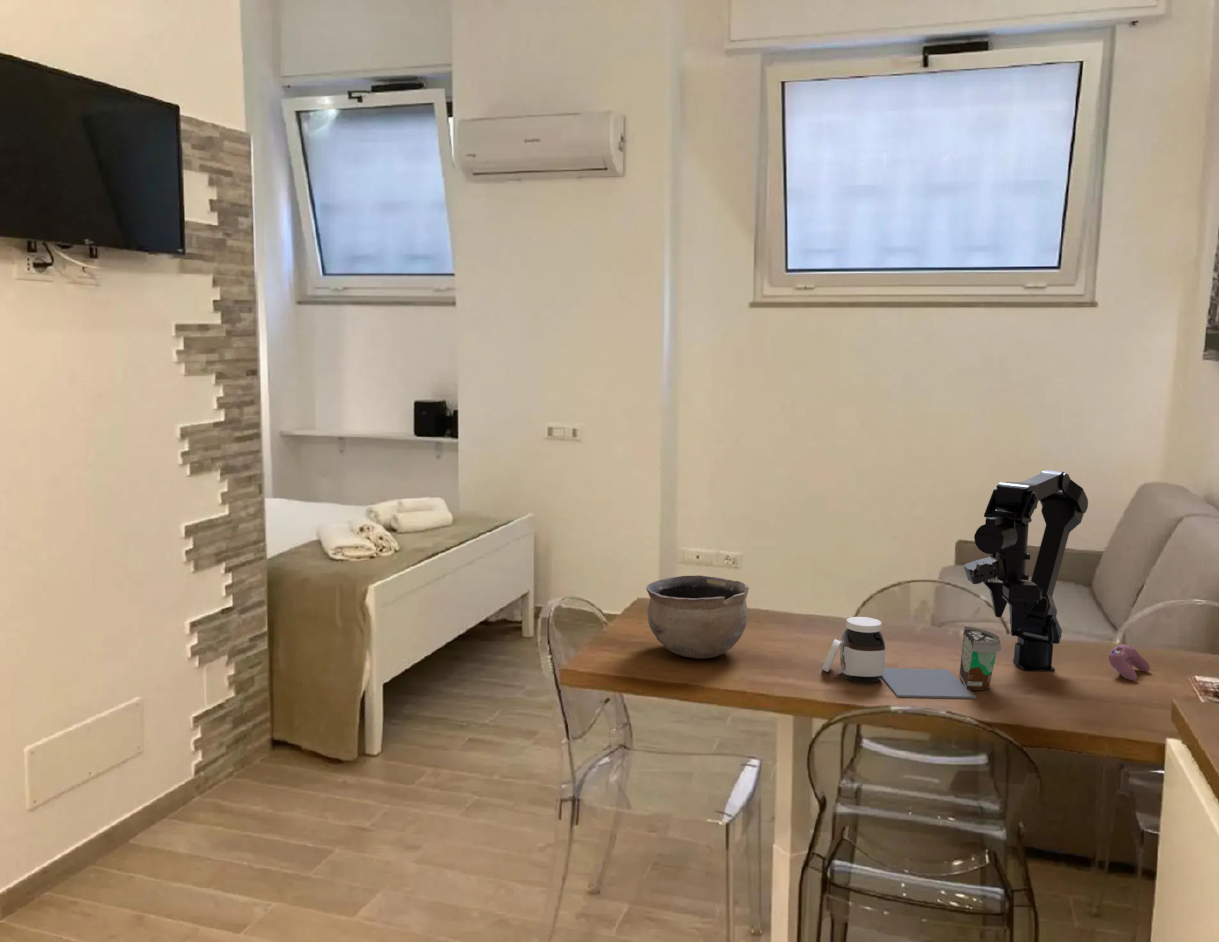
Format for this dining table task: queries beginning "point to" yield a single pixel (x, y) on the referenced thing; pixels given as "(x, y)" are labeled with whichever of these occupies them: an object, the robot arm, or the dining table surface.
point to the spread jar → (860, 651)
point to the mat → (925, 683)
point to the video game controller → (1127, 661)
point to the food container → (978, 657)
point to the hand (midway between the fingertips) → (1006, 623)
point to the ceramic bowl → (697, 614)
